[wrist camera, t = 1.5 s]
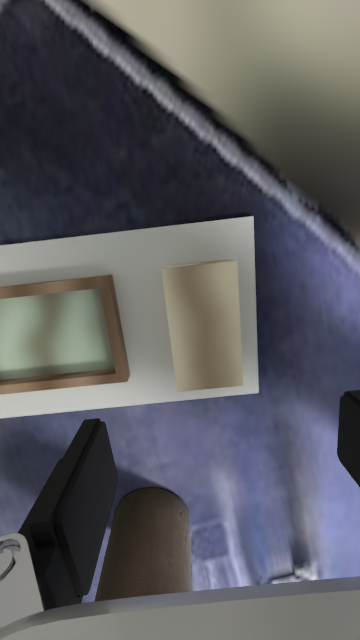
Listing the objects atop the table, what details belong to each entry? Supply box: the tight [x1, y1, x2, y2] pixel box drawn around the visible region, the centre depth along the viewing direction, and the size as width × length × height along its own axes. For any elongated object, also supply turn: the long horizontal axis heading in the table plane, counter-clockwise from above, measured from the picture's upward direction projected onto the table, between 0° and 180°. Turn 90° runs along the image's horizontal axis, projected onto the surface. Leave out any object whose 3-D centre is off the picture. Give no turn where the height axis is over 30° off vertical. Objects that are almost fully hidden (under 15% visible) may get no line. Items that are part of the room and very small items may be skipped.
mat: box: [0, 216, 259, 418], centre depth 26 cm, size 29×18×1 cm, turn 96°
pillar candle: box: [95, 488, 193, 602], centre depth 26 cm, size 10×10×15 cm
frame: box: [0, 274, 130, 395], centre depth 25 cm, size 15×11×2 cm
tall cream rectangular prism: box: [162, 259, 243, 392], centre depth 23 cm, size 6×11×4 cm, turn 6°
